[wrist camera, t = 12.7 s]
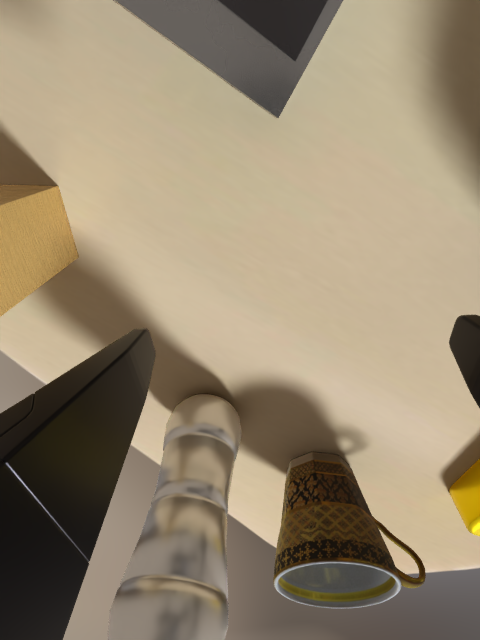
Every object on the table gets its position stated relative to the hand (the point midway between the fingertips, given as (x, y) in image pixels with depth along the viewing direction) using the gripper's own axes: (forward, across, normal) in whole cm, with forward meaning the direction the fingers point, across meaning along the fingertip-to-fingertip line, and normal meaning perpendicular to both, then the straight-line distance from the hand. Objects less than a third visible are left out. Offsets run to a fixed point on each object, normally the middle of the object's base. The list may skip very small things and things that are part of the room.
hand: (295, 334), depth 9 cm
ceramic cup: (+12, -5, +27) cm, 30 cm away
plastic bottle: (+12, +7, +17) cm, 22 cm away
